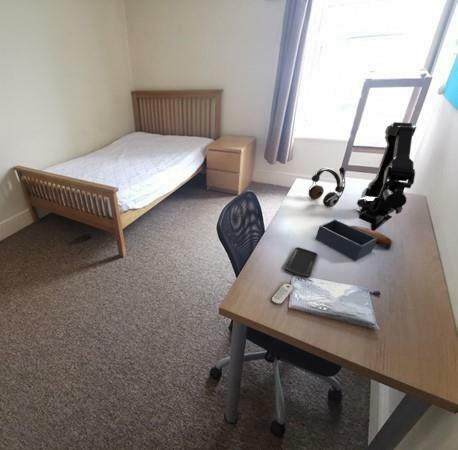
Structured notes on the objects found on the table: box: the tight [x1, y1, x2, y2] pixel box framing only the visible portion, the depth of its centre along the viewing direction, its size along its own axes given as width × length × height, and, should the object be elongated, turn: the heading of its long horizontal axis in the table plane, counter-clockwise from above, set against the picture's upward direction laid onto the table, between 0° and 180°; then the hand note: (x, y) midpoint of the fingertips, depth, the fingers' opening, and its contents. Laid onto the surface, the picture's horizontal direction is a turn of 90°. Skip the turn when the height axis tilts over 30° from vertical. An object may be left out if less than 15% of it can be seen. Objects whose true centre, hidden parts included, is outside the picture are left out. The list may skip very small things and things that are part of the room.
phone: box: [284, 246, 319, 279], centre depth 100 cm, size 8×1×15 cm
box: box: [315, 218, 378, 262], centre depth 106 cm, size 10×16×6 cm, turn 28°
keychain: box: [271, 283, 294, 305], centre depth 88 cm, size 10×1×3 cm
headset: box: [308, 166, 346, 208], centre depth 133 cm, size 17×8×20 cm, turn 20°
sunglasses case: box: [350, 225, 393, 249], centre depth 111 cm, size 18×7×7 cm
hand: (372, 230), depth 114 cm, fingers closed
